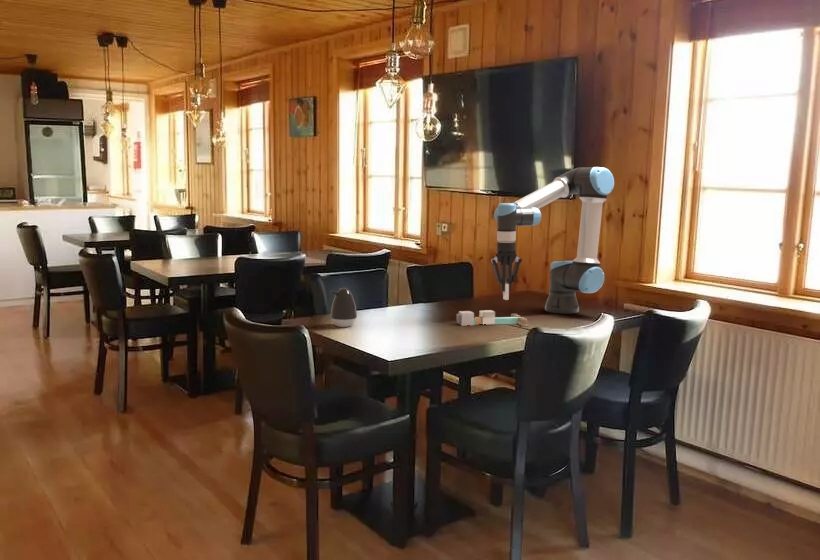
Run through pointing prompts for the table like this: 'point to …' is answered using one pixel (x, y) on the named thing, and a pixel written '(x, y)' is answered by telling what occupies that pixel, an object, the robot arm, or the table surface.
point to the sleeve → (487, 316)
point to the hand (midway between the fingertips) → (505, 299)
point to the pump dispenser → (343, 308)
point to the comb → (520, 320)
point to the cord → (468, 319)
